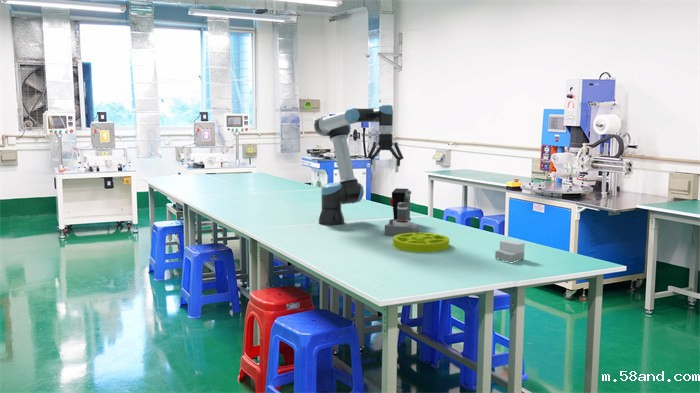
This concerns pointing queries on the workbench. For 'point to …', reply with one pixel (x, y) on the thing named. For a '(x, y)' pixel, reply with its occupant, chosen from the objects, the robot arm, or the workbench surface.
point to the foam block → (510, 251)
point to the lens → (402, 212)
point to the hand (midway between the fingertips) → (385, 171)
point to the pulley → (421, 242)
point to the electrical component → (400, 196)
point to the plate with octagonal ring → (400, 227)
